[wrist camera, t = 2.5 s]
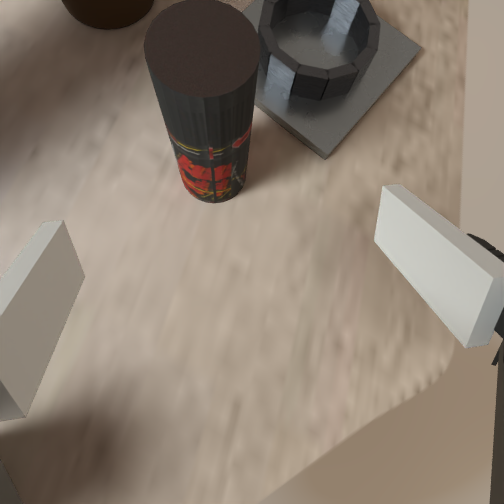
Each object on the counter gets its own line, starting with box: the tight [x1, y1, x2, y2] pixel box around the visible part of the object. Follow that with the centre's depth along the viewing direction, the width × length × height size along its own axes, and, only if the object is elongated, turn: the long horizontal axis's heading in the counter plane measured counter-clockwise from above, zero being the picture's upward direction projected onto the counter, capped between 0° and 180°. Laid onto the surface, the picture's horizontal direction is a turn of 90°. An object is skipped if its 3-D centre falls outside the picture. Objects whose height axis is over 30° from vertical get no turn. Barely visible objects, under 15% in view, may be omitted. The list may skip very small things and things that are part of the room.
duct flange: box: [242, 0, 421, 160], centre depth 34 cm, size 16×16×4 cm
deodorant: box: [144, 0, 261, 203], centre depth 25 cm, size 6×6×15 cm
